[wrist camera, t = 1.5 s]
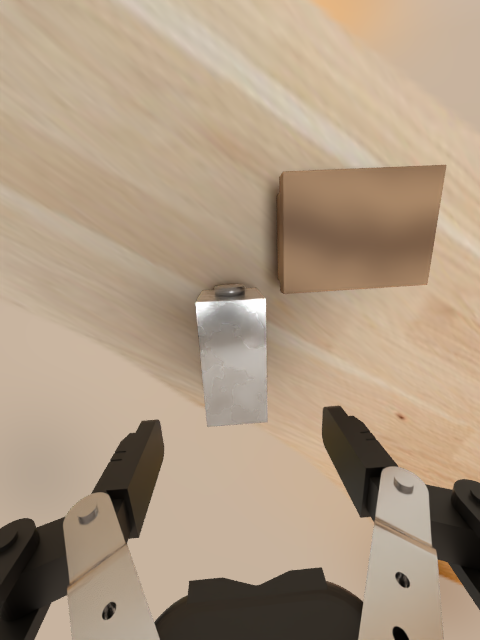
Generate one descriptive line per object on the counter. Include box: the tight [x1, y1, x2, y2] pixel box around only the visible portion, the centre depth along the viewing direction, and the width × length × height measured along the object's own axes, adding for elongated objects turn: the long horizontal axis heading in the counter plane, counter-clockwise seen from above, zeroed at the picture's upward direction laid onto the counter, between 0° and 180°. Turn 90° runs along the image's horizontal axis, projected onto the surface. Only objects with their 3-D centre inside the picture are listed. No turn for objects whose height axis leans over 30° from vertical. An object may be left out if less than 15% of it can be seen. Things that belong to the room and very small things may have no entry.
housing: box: [195, 284, 268, 427], centre depth 20 cm, size 11×5×6 cm, turn 2°
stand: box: [277, 165, 446, 294], centre depth 19 cm, size 8×11×4 cm
